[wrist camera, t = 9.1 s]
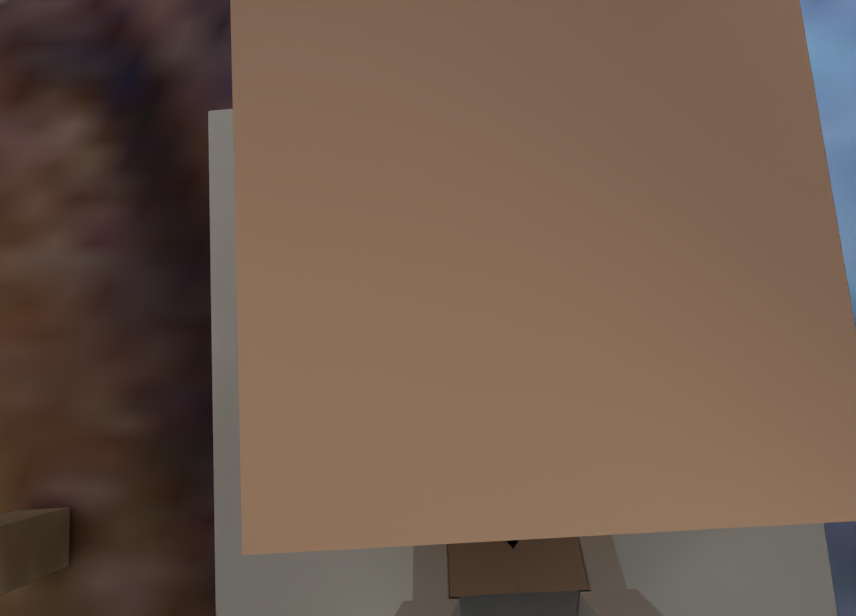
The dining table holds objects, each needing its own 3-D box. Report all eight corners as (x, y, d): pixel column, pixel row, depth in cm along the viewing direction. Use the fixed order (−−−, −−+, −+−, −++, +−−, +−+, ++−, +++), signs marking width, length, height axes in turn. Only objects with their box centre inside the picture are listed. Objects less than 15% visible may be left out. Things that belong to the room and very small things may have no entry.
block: (632, 447, 15) (887, 518, 6) (377, 463, 15) (242, 555, 6) (604, 199, 16) (787, -71, 7) (364, 219, 16) (230, -13, 7)
